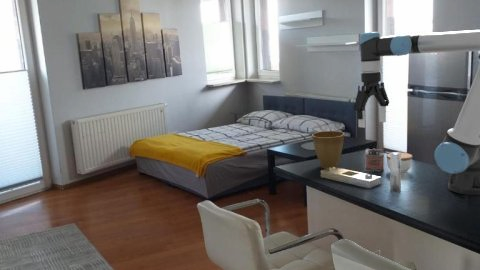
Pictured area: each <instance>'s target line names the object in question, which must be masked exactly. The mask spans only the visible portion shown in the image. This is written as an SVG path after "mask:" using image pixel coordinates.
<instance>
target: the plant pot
mask: <svg viewBox="0 0 480 270" xmlns="http://www.w3.org/2000/svg"><path fill="white" fill-rule="evenodd" d="M311 138H312V143H313V146H314V151H315V154H316V156H317V160H318V162H319V165H320V166H321V168H322V169H327V168H329V167H337V168H338V167H339V163H340V159H341V156H342V153H343V146H344V141H345V140H344V139H345V132H342V131H339V130H338V131H337V130H323V131H317V132H314V133H312V134H311Z"/></svg>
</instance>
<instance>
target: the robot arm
mask: <svg viewBox="0 0 480 270" xmlns="http://www.w3.org/2000/svg"><path fill="white" fill-rule="evenodd" d="M359 38H360V39H359V48H360V64H361V65H360V68H361V69H360V71H361V72H362V73H361V74H360V78H361V82H362V83H363V85H358V86H357V94H356V97H355V101H354V104H353V109H352V110H353V111H355V112H357V120H358V121H357V122H358V123H357V125H358V128H366V112H365V110H364V109H365V107H366V106H367V103H368V101H369V98H371V97H373V96H374V98H375V99H376V101H377V102H378V104H379V106H378V121H379V123H386V122H387V118H386V117H387V115H386V113H387V107H388V106H389V104H390V100H389V98H388V94H387V91H386V88H385V83H384V82H382V81H381V80H382V75H381V74H382V73H381V72H380V71H382V66H381V57H392V56H393V57H395V56H397V57H399V56H406V55H408V54H411V55H412V54H430V53H431V54H432V53H433V54H435V53H437V54H438V53H458V52H460V53H462V52H463V53H465V52H480V29H473V30H471V29H470V30H469V29H468V30H457V31H443V32H442V31H441V32H427V33H408V34H397V35H388V36H387V35H385V36H381V35H380V32H379V31H373V32H372V31H371V32H363V33H361V34H360V37H359ZM477 60H478V61H479V63H480V53H479V54H478V56H477ZM433 155H434V160H435V162H436V165H437V166H438V167H439V168H440V169H441V171H443V172H445V173H448V174H450V176H449V177H450V178H449V180H448V183H447V184H448V185H447V187H448V190H449V191H451V192H454V193H457V194H461V195H467V196H480V65H479V67H478V69H477V72H476V73H475V76H474V79H473V81H472V84H471V85H470V89H469V91H468V93H467V95H466V98H465V100H464V103H463V104H462V107H461V110H460V112H459V114H458V117H457V120H456V122H455V124H454V126H453V127H452V128H449V129H448V130H447V132H446V134H445V137H444V139H443V141H442V142H441V143H439V145H438V146H437V147H436V148H435V150H434V153H433Z"/></svg>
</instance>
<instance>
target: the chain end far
mask: <svg viewBox="0 0 480 270" xmlns="http://www.w3.org/2000/svg"><path fill="white" fill-rule="evenodd" d="M359 173H362V172H361V171H355V170H350V169H345V168H341V167H338V166H337V167H329V168H327V169H325V168H323V169H321V170H320V178H324V179H329V180H333V181H337V182H340V181H339V178H342V179H346V180H349V177H350V176H349V174H350V175H356V174H359Z"/></svg>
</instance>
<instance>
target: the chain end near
mask: <svg viewBox="0 0 480 270" xmlns="http://www.w3.org/2000/svg"><path fill="white" fill-rule="evenodd" d="M349 176H350V177H349V180H346V179H342V178H339V181H338V182H341V183H345V184H349V185H354V186H357V187H362V188H367V189H372V188H373V187H374V188H375V187H376V186H379V185H382V176H379V175H375V174H369V173H365V172H361V173H359V174H356V175H350V174H349Z"/></svg>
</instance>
